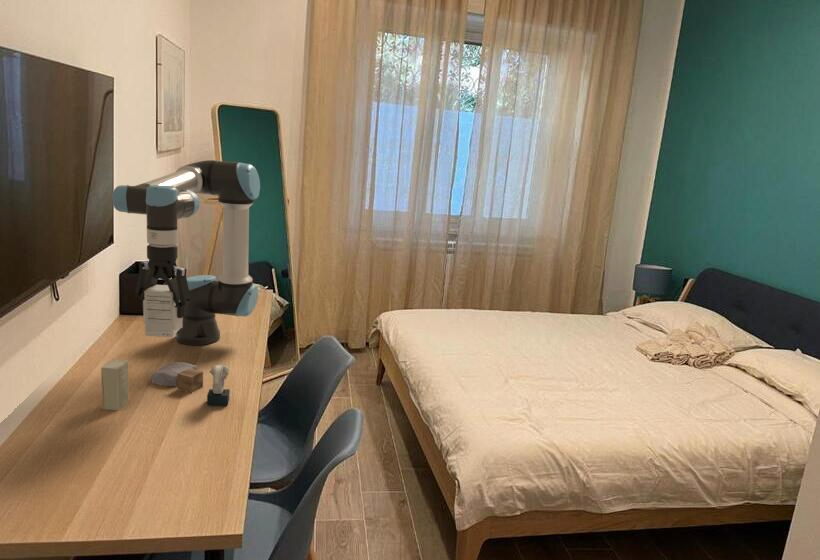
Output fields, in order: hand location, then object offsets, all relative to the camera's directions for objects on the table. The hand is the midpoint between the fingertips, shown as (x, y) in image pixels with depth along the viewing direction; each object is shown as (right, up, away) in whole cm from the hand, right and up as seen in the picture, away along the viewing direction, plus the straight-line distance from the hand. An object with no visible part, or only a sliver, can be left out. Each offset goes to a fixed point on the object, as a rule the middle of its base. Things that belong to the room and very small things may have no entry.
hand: (163, 325), depth 162 cm
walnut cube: (+2, -20, +14) cm, 24 cm away
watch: (+13, -23, +6) cm, 27 cm away
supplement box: (0, -2, 0) cm, 2 cm away
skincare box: (-12, -22, -1) cm, 25 cm away
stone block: (-5, -18, +20) cm, 27 cm away
